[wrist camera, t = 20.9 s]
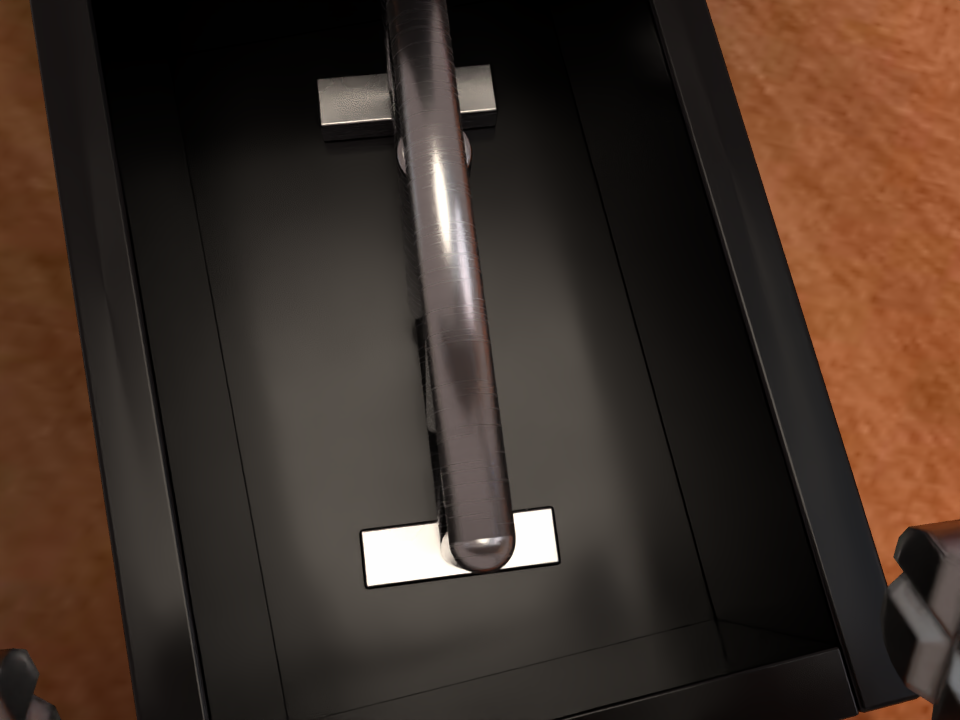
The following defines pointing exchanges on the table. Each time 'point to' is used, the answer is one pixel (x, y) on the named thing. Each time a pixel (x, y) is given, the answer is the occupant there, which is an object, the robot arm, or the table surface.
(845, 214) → the table surface
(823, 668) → the oven
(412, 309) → the rack
